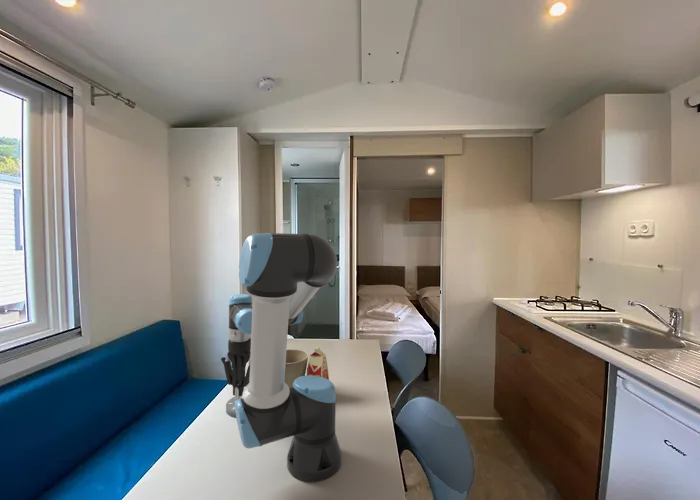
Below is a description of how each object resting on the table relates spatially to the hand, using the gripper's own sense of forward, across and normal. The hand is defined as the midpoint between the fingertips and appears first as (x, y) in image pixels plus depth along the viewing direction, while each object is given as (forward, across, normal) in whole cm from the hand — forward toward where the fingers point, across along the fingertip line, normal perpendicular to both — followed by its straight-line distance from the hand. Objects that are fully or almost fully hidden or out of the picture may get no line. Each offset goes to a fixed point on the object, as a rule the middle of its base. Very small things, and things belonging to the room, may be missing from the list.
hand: (238, 404), depth 115 cm
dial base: (+4, +1, +5) cm, 6 cm away
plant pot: (+4, +13, +17) cm, 21 cm away
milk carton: (+3, +24, +18) cm, 30 cm away
